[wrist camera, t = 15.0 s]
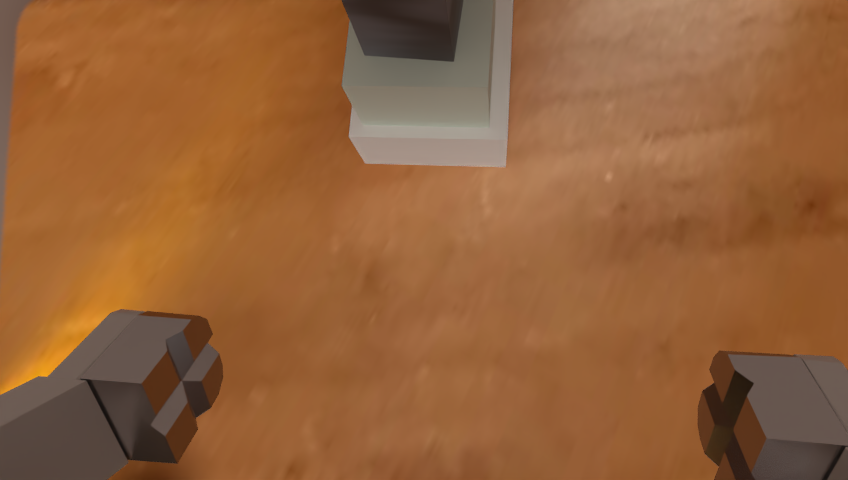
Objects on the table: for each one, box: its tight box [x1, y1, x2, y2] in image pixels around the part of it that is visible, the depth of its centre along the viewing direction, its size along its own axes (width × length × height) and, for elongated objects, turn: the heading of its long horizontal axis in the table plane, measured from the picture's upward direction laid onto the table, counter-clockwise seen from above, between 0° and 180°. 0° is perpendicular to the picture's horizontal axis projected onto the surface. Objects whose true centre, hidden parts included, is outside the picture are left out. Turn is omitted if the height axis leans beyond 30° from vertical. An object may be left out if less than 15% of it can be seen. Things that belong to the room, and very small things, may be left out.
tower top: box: [342, 0, 496, 128], centre depth 33 cm, size 8×8×5 cm
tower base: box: [349, 0, 513, 167], centre depth 37 cm, size 10×10×5 cm
